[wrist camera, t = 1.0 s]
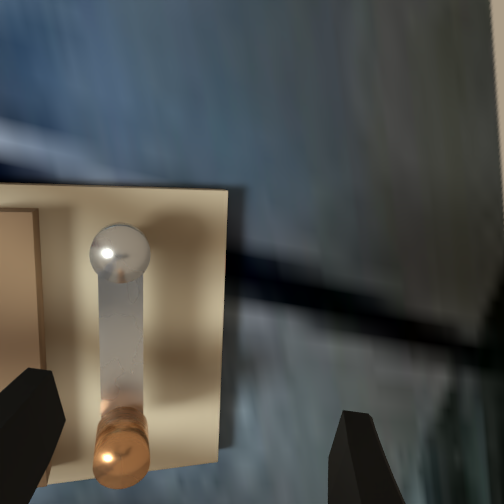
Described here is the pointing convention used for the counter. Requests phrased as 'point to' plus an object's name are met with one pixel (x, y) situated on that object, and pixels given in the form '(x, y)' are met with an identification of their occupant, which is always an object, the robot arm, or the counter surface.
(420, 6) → the counter surface
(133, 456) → the bar
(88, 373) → the door board
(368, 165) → the counter surface
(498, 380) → the counter surface
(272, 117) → the counter surface
